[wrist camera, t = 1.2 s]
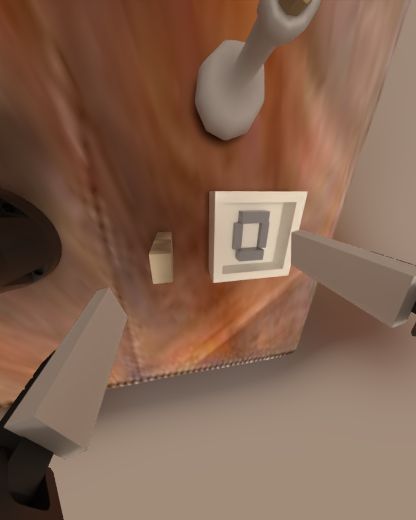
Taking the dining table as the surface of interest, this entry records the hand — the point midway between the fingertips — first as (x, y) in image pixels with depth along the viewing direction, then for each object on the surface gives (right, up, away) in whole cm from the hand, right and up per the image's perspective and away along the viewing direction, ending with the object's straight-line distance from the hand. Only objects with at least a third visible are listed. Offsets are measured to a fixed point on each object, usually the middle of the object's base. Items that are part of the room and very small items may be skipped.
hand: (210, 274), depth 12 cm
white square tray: (+8, +6, +21) cm, 23 cm away
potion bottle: (+2, +23, +12) cm, 27 cm away
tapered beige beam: (-8, +4, +18) cm, 20 cm away
